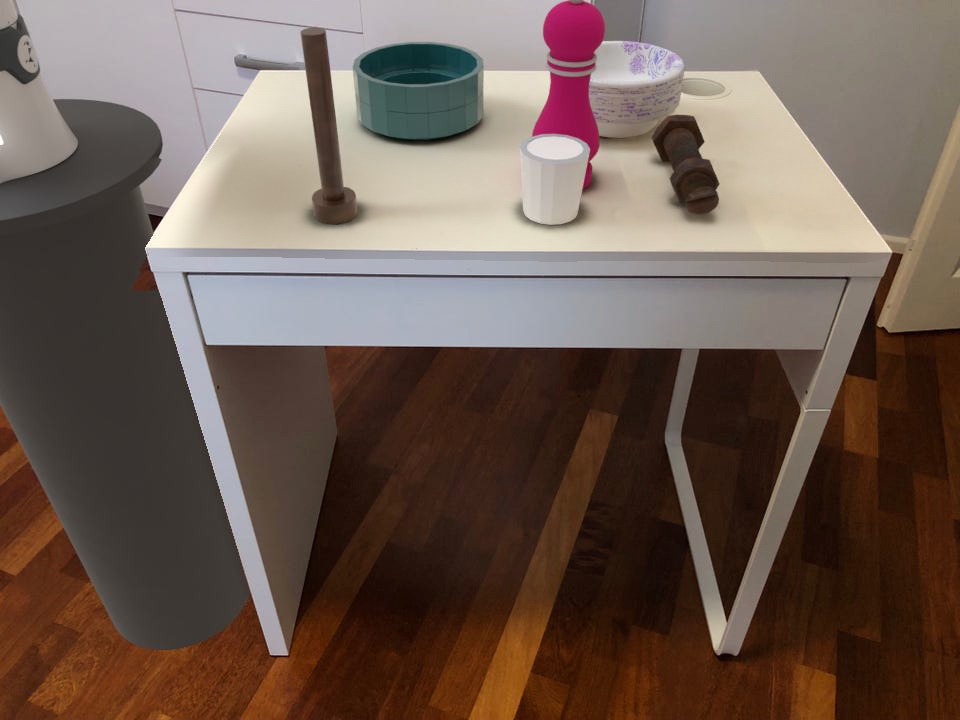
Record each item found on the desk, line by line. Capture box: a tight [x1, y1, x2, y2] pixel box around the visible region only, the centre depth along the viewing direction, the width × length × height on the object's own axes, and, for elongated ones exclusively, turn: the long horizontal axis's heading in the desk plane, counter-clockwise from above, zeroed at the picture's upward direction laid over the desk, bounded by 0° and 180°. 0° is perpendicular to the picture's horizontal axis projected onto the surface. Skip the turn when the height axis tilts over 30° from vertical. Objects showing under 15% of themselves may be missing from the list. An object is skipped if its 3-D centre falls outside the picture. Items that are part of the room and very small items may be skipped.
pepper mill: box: [531, 0, 606, 190], centre depth 81 cm, size 7×7×20 cm
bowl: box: [352, 41, 485, 141], centre depth 98 cm, size 16×16×7 cm
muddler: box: [300, 27, 358, 225], centre depth 75 cm, size 4×4×18 cm
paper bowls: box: [589, 40, 686, 139], centre depth 96 cm, size 15×15×8 cm
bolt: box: [651, 114, 720, 216], centre depth 84 cm, size 6×5×15 cm
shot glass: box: [519, 134, 590, 226], centre depth 79 cm, size 7×7×7 cm
